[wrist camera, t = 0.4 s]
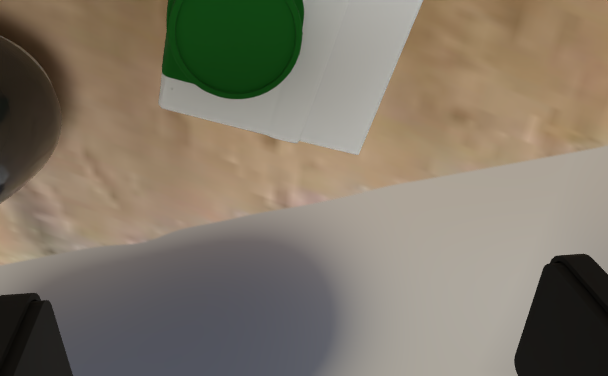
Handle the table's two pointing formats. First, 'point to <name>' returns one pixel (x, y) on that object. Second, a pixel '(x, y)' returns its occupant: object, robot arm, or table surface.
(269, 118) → the milk carton
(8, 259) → the table surface
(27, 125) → the pump dispenser
